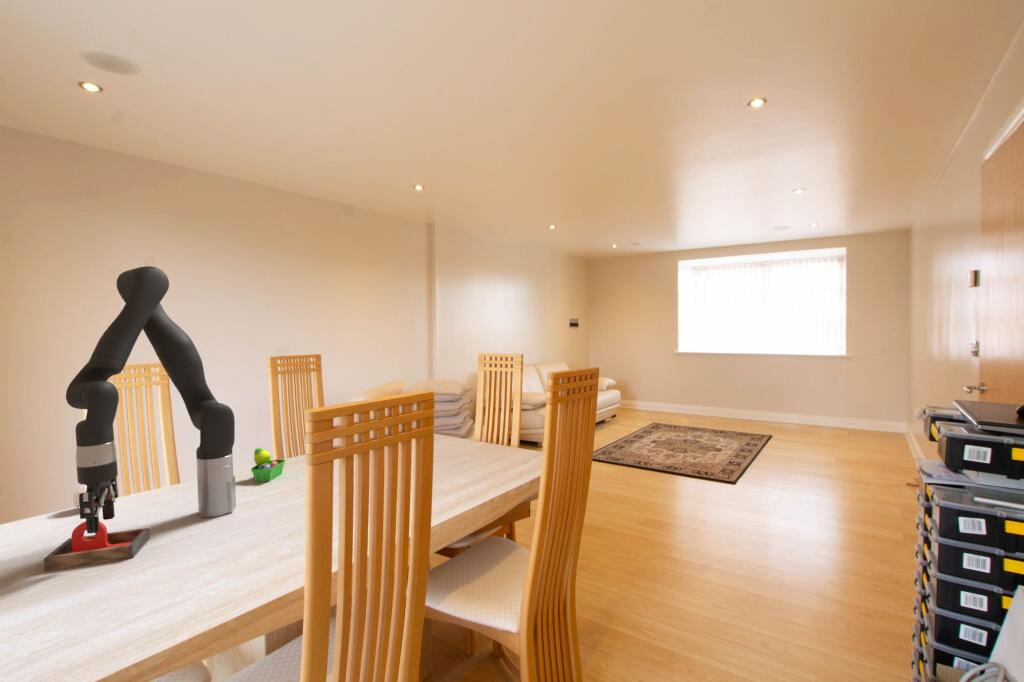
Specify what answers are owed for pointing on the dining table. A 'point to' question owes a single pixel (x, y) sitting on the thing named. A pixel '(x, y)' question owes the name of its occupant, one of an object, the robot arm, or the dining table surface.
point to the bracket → (91, 544)
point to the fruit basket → (266, 466)
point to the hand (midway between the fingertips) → (101, 525)
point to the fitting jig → (98, 550)
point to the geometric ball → (76, 495)
